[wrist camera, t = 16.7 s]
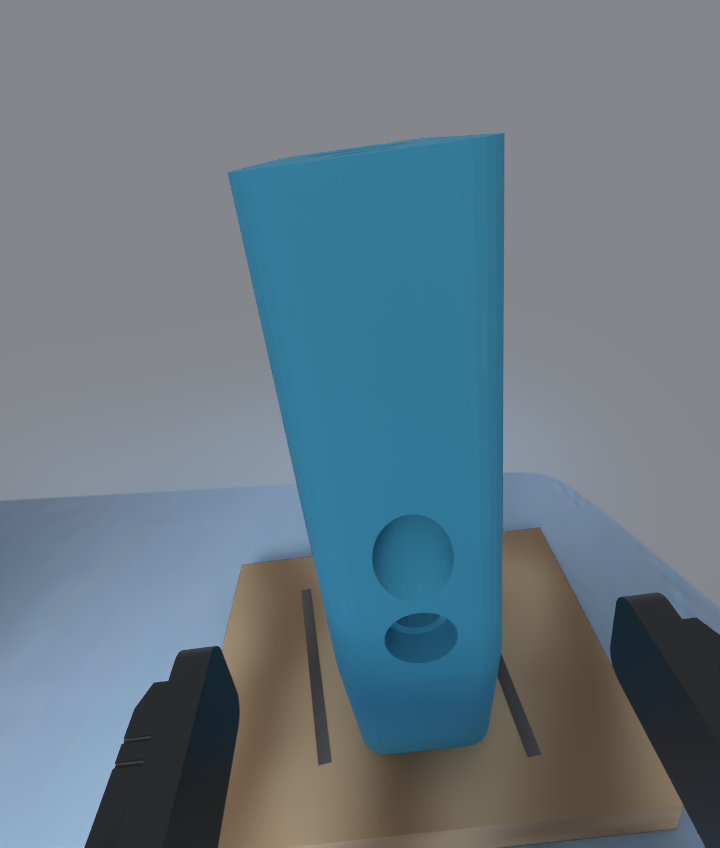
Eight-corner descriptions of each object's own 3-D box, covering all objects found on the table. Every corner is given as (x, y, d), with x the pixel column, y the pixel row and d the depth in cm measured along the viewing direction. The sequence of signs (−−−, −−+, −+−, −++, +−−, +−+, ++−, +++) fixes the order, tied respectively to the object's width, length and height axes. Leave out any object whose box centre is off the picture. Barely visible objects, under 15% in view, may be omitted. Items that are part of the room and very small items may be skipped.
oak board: (184, 880, 18) (171, 859, 18) (247, 583, 31) (241, 564, 30) (677, 828, 18) (684, 804, 17) (539, 547, 30) (539, 527, 29)
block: (355, 564, 29) (285, 157, 19) (446, 553, 29) (420, 138, 19) (363, 809, 18) (217, 174, 9) (508, 794, 18) (518, 131, 9)
